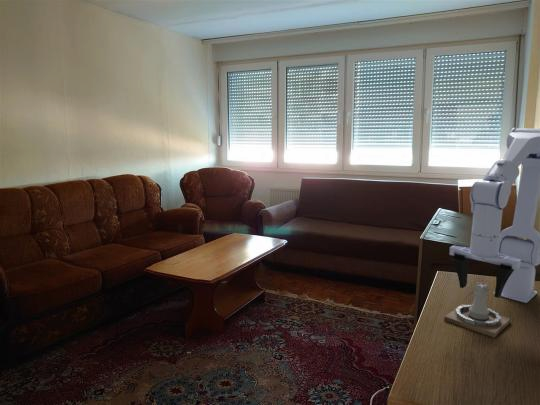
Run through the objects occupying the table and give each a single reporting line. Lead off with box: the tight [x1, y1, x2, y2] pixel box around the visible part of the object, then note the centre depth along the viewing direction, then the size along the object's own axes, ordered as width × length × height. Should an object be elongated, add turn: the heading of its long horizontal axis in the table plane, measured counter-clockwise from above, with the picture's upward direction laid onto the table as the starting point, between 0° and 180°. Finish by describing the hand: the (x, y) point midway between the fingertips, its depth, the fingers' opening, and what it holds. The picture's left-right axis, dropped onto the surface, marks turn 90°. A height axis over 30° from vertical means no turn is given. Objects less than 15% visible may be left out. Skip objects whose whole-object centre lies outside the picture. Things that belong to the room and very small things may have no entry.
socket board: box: [443, 303, 512, 338], centre depth 98 cm, size 10×11×2 cm
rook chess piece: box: [468, 281, 490, 320], centre depth 98 cm, size 4×4×8 cm
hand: (480, 291), depth 97 cm, fingers open, 7 cm apart
